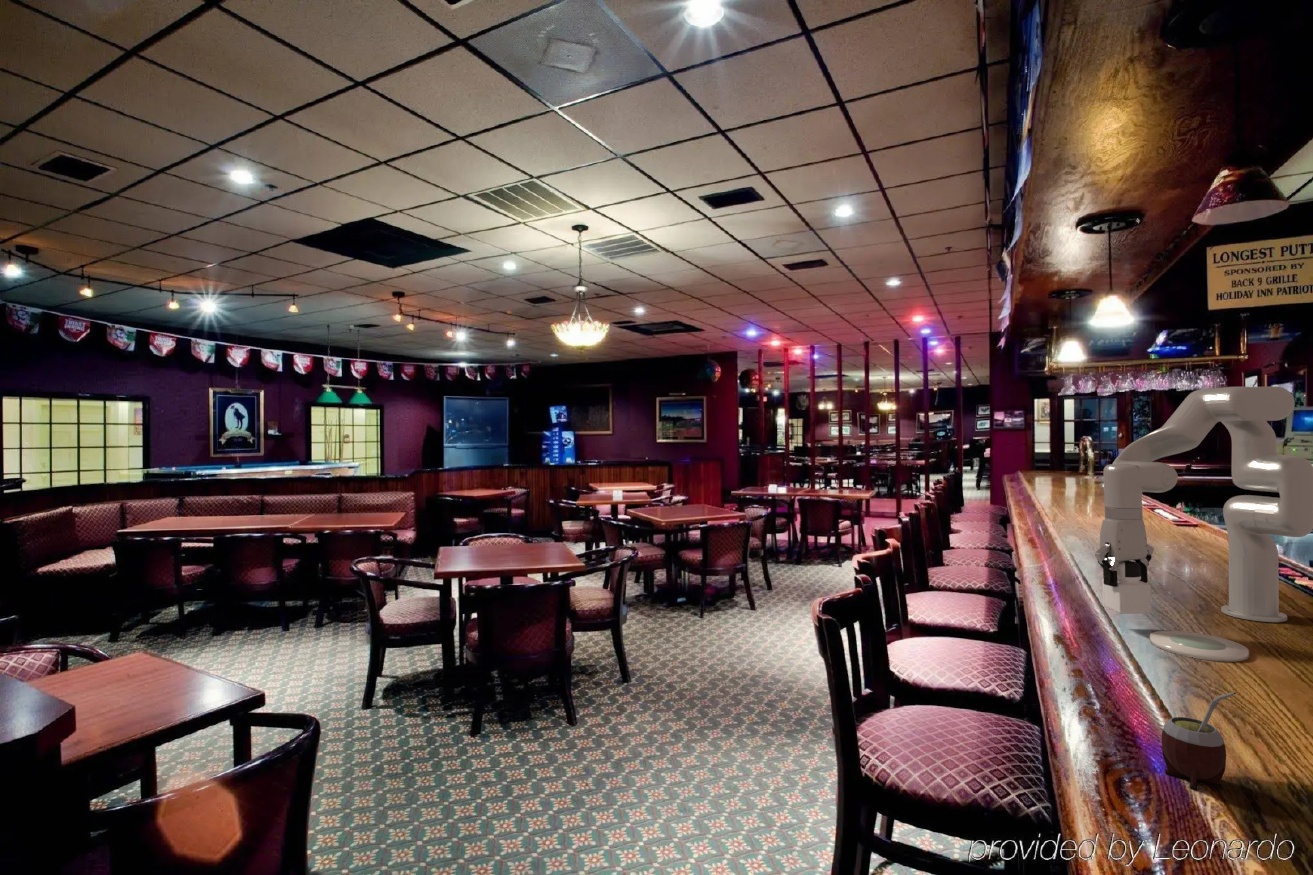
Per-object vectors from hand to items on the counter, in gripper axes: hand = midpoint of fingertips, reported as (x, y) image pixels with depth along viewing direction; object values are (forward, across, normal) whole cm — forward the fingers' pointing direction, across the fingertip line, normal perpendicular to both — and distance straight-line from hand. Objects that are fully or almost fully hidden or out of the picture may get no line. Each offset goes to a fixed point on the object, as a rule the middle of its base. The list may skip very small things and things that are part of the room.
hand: (1125, 583), depth 156 cm
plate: (+12, -3, +14) cm, 19 cm away
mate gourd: (+10, +54, +55) cm, 78 cm away
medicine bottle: (+7, 0, 0) cm, 7 cm away
